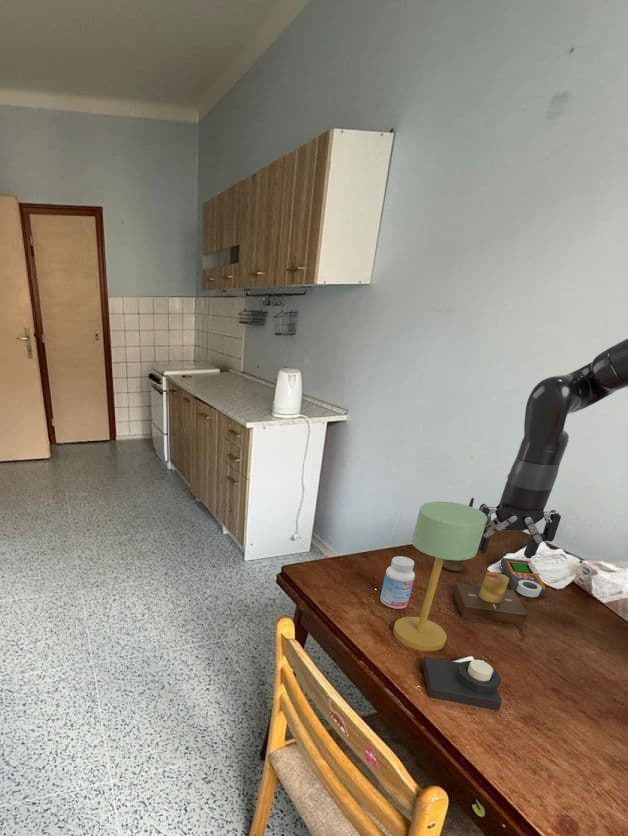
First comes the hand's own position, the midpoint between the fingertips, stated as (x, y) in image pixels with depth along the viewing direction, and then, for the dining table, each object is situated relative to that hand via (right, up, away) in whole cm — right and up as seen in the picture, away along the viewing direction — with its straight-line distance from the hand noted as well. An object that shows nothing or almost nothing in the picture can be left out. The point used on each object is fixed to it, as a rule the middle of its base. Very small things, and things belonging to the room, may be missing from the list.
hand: (504, 554), depth 100 cm
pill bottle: (-19, -12, +11) cm, 25 cm away
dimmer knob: (+1, -10, +6) cm, 12 cm away
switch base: (-18, -24, -14) cm, 33 cm away
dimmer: (+1, -13, +8) cm, 15 cm away
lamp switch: (-16, -22, -16) cm, 31 cm away
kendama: (+3, -4, +24) cm, 24 cm away
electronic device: (+16, -7, +17) cm, 25 cm away
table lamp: (-19, -17, -1) cm, 25 cm away
